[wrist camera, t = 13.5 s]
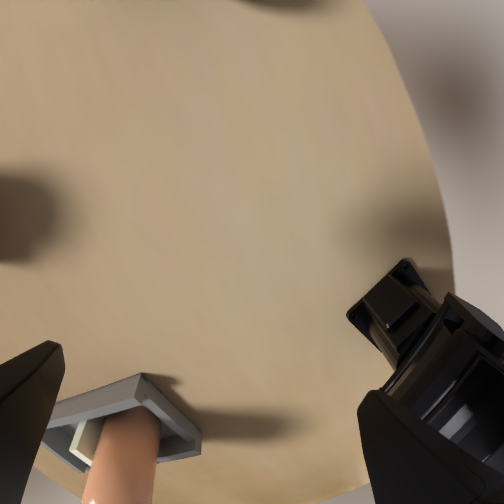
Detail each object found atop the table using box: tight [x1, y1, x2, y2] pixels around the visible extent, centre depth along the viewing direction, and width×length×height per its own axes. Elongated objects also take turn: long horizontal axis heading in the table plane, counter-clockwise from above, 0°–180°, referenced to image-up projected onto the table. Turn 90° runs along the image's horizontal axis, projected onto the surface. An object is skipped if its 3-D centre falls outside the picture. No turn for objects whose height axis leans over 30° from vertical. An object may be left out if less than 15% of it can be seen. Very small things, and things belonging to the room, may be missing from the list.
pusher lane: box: [41, 373, 202, 473], centre depth 24 cm, size 18×10×4 cm, turn 117°
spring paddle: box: [69, 416, 106, 466], centre depth 22 cm, size 5×7×6 cm
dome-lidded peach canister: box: [81, 406, 162, 504], centre depth 19 cm, size 6×6×13 cm
